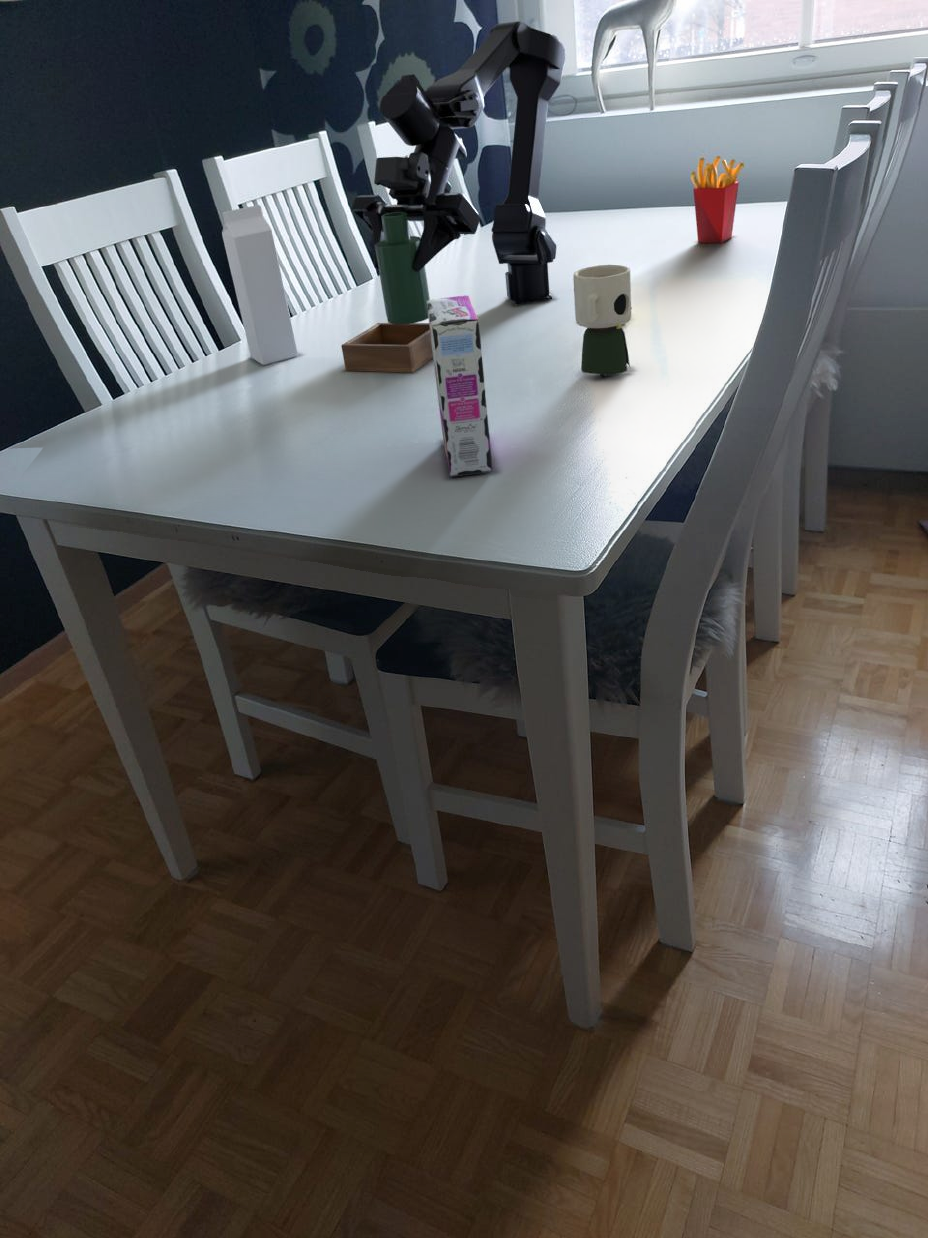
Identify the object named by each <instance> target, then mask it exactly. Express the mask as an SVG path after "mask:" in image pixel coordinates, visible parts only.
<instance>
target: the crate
mask: <svg viewBox="0 0 928 1238" xmlns="http://www.w3.org/2000/svg"><path fill="white" fill-rule="evenodd" d="M340 347H341V351H342V357H343V362H344V369H345V371H349V372H379V373H380V372H381V373H409V374H410V373H414V372H416V371H417V370H418V369H420V368H421V367H422V366H424V365H425V364H426V363H428V362H429V361H431V360H432V359H433V352H432V344H431V335H430V327H429V322H417V323H412V324H401V325H398V324H391V323H389V322H377V323H376V324H374V325H372V326H370V327H368V329H366V330H364V331H363V332H361V333H359V334H357V335H356V336H354V337H353V338H351V339H349V340H347V341H346V342H344V343H343V344H341V345H340Z"/></svg>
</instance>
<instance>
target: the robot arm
mask: <svg viewBox="0 0 928 1238" xmlns="http://www.w3.org/2000/svg"><path fill="white" fill-rule="evenodd" d="M566 55H567V53H566V48H565V46H564V44H563V43H562V42H561V41H560V39H559V37H557V36H556V35H555V34H551V33H548V32H545V31H543V30H539V29H536V28H532V27H531V26H529V25H528V24H527V23H526V22H522V21H520V20H517V21H510V22H508V21H507V22H503V23H497V24H496V25H495V26H492V27H491V29H490V32H489V34H488V36H487V37H486V38H485V39H484V41H482V42H481V44H480V45H479V46H478V47H477V49H476V50H475V51H474V52H473V53H472V54H471V55H470V56H469V58H468V59H467V60H466V61H465V62H464V63H463V64H462V66H461V67H460V68H459V69H458V70H457V71H455V72H453V73H451V74H449V75H446V76H443V77H442V78H440V79H438V80H437V81H435V82H433V83H432V84H431V85H429V86H428V87H427V88H426V90H425V89H424V88H423V86H422V85H421V83H420V80H419V79H418V77H417V76H416V75H415V73H413V74H403V75H401V78H400V81H399V82H398V83H396V84H394V85H393V86H392V87H391V88H389V90H388V91H387V92H386V93H385V95H383V96H382V97H381V100H380V104H379V111H380V114H381V115H382V117H383V118H384V119H385V121H386V122H387V123H388V124H389V125H390V127H391V128H392V130H394V132H395V133H396V134H397V136H398V137H399V138H400V139H401V140H402V142H403V143H404V144H405V145H406V146H410V147H414V150H413V152H410V154H409V156H406V157H405V156H384V157H383V156H382V157H376V159H375V169H374V181H373V183H374V185H376V186H382V187H385V188H387V189H389V192H388V195H389V197H390V198H391V199H392V200H396V204H388V203H387V202H386V201H385V200H384V198H383V197H382V196H381V195H380V194H366V195H365V194H362V195H358V196H356V197H354V201H353V203H352V206H351V210H350V213H352V214H353V215H354V217H356V219H357V220H358V221H359V222H360V223H361V224H362V225H363V226H364V227H365V228H366V229H367V230H368V231H369V232H370V233H371V234H372V239H373V240H372V241H373V267H374V268H375V270H376V271H378V272H379V268H378V262H377V256H376V250H375V244H376V243H378V242H380V241H383V240H385V237H384V231H383V224H382V218H381V216H382V215H385V214H388V213H394V212H406V213H407V219H408V222H423V230H422V233H421V236H420V238H421V239H420V242H419V246H418V249H417V252H416V255H415V259H414V264H413V269H414V270H415V271H416V272H419V271H420V270H421V269H422V268H423V267H424V266H425V267H426V265H427V264H428V263H430V262H431V261H432V259H434V257H436V256H437V255H438V254H439V253H440V252H441V251H442V250H444V249H445V248H446V247H447V246H448V245H449V244H451V243H452V242H453V241H455V240H459V239H460V238H461V235H475V234H476V233H477V230H478V227H479V225H480V215H479V212H478V211H477V210H476V208H475V207H474V206H473V204H472V203H471V202H470V200H468V198H467V197H466V195H464V193H463V192H451V191H452V188H453V186H452V185H451V184H450V182H449V177H450V175H451V172H452V168H453V165H454V164H455V161H456V160H458V159H459V160H461V159H466V158H467V157H468V155H467V154H468V153H467V149H466V147H465V145H464V143H463V139H462V137H459V136H458V135H457V134H456V133H455V131H454V130H457V129H469V128H470V129H471V128H472V127H473V126H475V124H476V123H477V121H478V120H479V118H480V116H481V114H482V112H483V110H484V108H485V99H484V98H485V96H486V95H487V93H488V91H489V90H490V89H491V87H493V85H494V84H495V83H496V82H497V80H498V79H499V78H500V77H501V75H502V74H503V73H504V72H505V71H506V70H509V81H510V84H511V87H512V89H513V91H514V94H515V95H516V100H517V101H516V109H515V119H514V131H513V139H512V140H513V141H512V149H511V150H512V151H511V161H510V171H509V181H508V191H507V196H506V198H505V199H504V201H503V202H502V204H496V205H495V207H494V209H493V221H492V227H491V230H490V231H491V233H492V234H491V241H492V244H493V245H492V246H493V248H494V251H495V254H496V259H497V261H498V264H499V265H505V264H506V265H507V271H506V272H504V276H505V277H504V278H505V287H506V296H507V298H508V300H510V301H511V302H512V303H513V304H514V305H515V306H520V305H527V304H533V303H540V302H545V301H551V300H553V295H552V294H551V293H550V279H549V266H548V265H549V264H550V263H553V262H554V260H555V259H556V255H557V243H556V242H555V240H554V239H553V238H552V236H551V235H550V233H549V232H548V230H547V229H546V228H547V227H546V223H547V222H546V221H547V218H546V215H545V212H544V210H543V208H542V205H541V203H540V201H539V195H540V194H539V193H540V183H541V177H542V175H541V174H542V165H543V157H544V156H543V155H544V147H545V138H546V137H545V136H546V128H547V117H548V108H549V102H550V100H551V99H552V97H553V96H554V95H555V93H556V92H557V90H558V88H559V87H560V85H561V82H562V77H563V72H564V67H565V64H566V58H567V56H566Z"/></svg>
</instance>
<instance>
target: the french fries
mask: <svg viewBox="0 0 928 1238" xmlns="http://www.w3.org/2000/svg"><path fill="white" fill-rule="evenodd" d="M721 159H722V157H721V156H720V155H717V156H715V159H714V160H713V162H711V163H710V162H709V163H706V164H705V157H701V158H699V159H698V164H697V169H696V171H694V170H693V171H692V172H691V175H690V179H691V182H692V184H693V185H694V188H693V189H692V190H693V201H694V211H695V212H694V213H695V222H696V234H697V243H708V244H713V243H715V244H716V243H717V244H722V243H724V242H726V241H727V240H729V239H731V238H732V236H733V228H734V222H735V215H736V208H737V207H736V206H737V198H738V193H739V184H740V181H737V179H738V176H739V174H740V173H741V171H742V169H743V168H744V167H745V163H744V162H739V163H738V164H737V166H736V167H734V165H735V164H736V159H734V158H733V159H731V160H730V162H729V163H728V164H727V161H726V159H723V160H721ZM720 162H721V163H722V165H723V167H724V171H725V172H722V173H720V174H719V175H718V166H719V163H720ZM704 164H705V167H704ZM696 173H697V174H696Z"/></svg>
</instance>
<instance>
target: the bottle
mask: <svg viewBox="0 0 928 1238" xmlns="http://www.w3.org/2000/svg"><path fill="white" fill-rule="evenodd" d="M381 218H382V224H383V231H384V237H385V240H383V241H380V242H378V243H376V244H375V250H376V256H377V262H378V268H379V271H378V274H379V278H380V280H379V281H380V287H381V292H382V298H383V304H384V310H385V316H386V320H387V323H391V324H398V325H401V324H412V323H422V322H423V321H426V320H429V318H428V308H427V301H429V300H431V298H430V291H429V284H428V276H427V270H426V265H425V266H424V267H423V268H422V269H421V270H420V271H419V272H416V271H415V270H414V269H413V264H414V259H415V255H416V252H417V249H418V246H419V242H420V239H421V236H417V235H411V234H410V226H409V221H408V219H407V213H406V212H394V213H388V214H385V215H382V216H381Z"/></svg>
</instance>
